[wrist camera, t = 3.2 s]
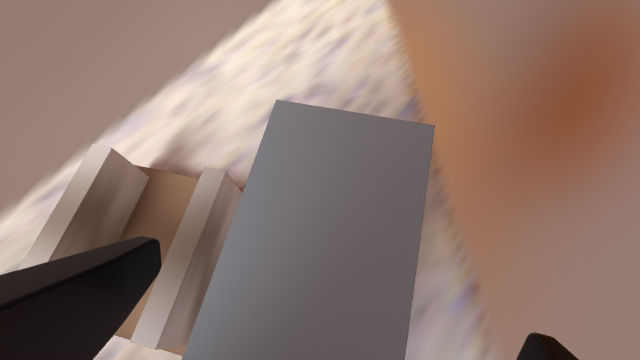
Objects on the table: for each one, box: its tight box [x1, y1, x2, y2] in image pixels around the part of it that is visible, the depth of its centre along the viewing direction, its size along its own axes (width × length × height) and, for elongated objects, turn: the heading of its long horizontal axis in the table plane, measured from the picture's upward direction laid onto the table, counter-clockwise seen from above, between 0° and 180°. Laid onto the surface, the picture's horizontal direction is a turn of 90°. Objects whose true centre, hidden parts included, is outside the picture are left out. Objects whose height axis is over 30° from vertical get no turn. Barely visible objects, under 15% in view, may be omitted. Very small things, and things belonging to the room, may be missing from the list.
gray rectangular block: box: [182, 100, 435, 360], centre depth 11 cm, size 6×3×12 cm, turn 166°
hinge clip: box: [18, 144, 244, 356], centre depth 15 cm, size 8×7×4 cm
